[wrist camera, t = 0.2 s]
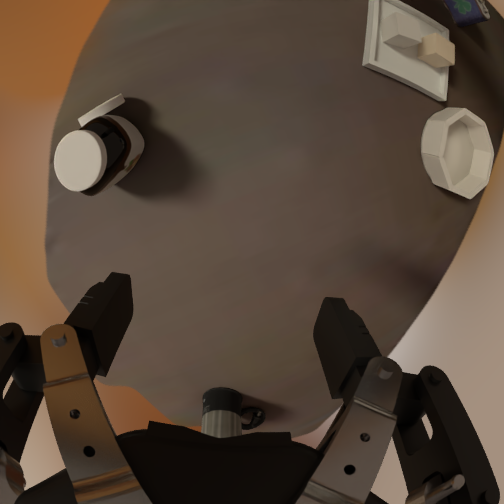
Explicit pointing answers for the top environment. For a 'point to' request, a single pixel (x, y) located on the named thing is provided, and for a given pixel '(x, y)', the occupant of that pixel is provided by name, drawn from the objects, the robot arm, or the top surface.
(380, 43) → the tray
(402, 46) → the pebble grey
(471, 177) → the bowl
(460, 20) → the flask
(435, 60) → the cream wooden brick
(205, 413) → the milk frother
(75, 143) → the spread jar
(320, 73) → the top surface
